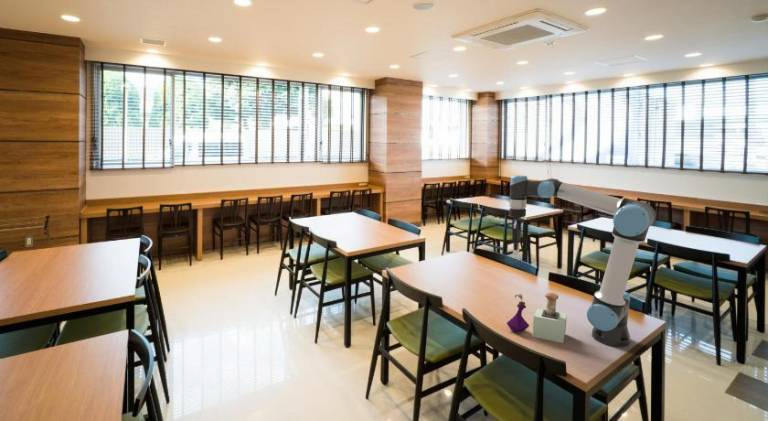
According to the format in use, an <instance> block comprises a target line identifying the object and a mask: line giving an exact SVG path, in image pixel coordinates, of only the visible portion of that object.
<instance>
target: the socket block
mask: <svg viewBox="0 0 768 421" xmlns="http://www.w3.org/2000/svg"><path fill="white" fill-rule="evenodd" d="M567 315H568V314H567V313H565V312H560V311H559V312H558V311H555V317H554V316H549V315H546V309H542V308H536V311H535V312H534V315H533V321H532V322H533V323H532V337H533V338H538V339H542V340H546V341H551V342H554V343H555V342H556V343H560V344H564V341H565V336H566V329H567V328H566V327H567V318H568V317H567Z"/></svg>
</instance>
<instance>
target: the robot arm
mask: <svg viewBox="0 0 768 421" xmlns="http://www.w3.org/2000/svg"><path fill="white" fill-rule="evenodd" d="M509 182H510V184H509V200H508V203H509V212H508V215H509V216H510V217H513V218H512V219H513V220H512V221H511V222H512V223H511V228H512V229H511V232H512V234H511V235H512V239H511V240H512V241H511V244H512V257H519V256H520V244H521V243H522V241H521V238H522V237H521V235H522V223H523V220H522V218H525V217H526V215H527V209H526V208H527V197H530V198H531V197H532V198H542V199H545V198H547V199H550V198H552V197H555V198H558V199H561V200H564V201H568V202H570V203H574V204H577V205H581V206H583V207H586V208H589V209H593V210H596V211H598V212H603V213H606V214H608V215H611V216H613V220H612V223H613V228H612V231H611V234H612V236H613V237H614V239H613V244H612V247H611V250H610V253H609V256H608V260H607V264H606V268H605V270H604V275H603V278H602V281H601V285H600V288H599V290H597V291H595V292H594V294H593V298H592V301H591V304H590V306H589V307H588V308H587V311H586V318H587V321H588V322H589V324H590V325H591V326H592V327H593V328H592V331H591V337H592V338H593V339H594V340H596V341H597V342H599V343H601V344H605V345H607V346H610V347H611V346H612V347H627V346H629V345H630V343H631V335H630V331H629V329H628V328H629V327H628V320H629V310H630V302H631V296H630V293H629V292H627V291H626V287H627V284H628V282H629V278H630V275H631V272H632V268H633V265H634V261H635V259H636V255H637V251H638V248H639V246H640V244H642V243H644V242H645V241H646V238H647V234H648V232H649V228H650V227H651V226H653V224H654V223H655V220H656V211H655V209H653V207H652V206H651V205H650V204H649V203H647V202H644V201H641V200H640V201H639V200H635V199H630V198H627V197H623V198H619V197H615V196H611V195H608V194H605V193H601V192H598V191H594V190H591V189H587V188H584V187H581V186H578V185H574V184H570V183H567V182H562V181H560V180H559V179H557V178H548V179H543V180H529V179H528V176H527V175H512V176H511V177H510V181H509Z"/></svg>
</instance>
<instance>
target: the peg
mask: <svg viewBox="0 0 768 421" xmlns="http://www.w3.org/2000/svg"><path fill="white" fill-rule="evenodd" d="M544 297H545V298H546V305H545V310H546V315H549V316H554V317H555V312H557V311H556V308H557V300H558V299H559V295H558V294H557V293H555V292H546V293H545V295H544Z"/></svg>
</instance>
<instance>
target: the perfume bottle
mask: <svg viewBox="0 0 768 421" xmlns="http://www.w3.org/2000/svg"><path fill="white" fill-rule="evenodd" d="M514 297H515V298H517V297H518V298H519V299H520V300H521V301H518V304H516V307H517V308H518V309H517V311H516V314H515V315H514V316H513V317H512V318H510V320H507V322H506V325H507V327H509V329H510V330H511V331H512V332H515V333H516V334H520V333H523V332H525V331H526V330H527V329H528V328H529V327H530V325H529V323H528V321H526V320H525V319H524V317H523V316H522V314H523V313H522V312H523V310H524V309H526V308H527V306H526V302H525V301H523V295H522V293H518V294H515V296H514Z"/></svg>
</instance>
